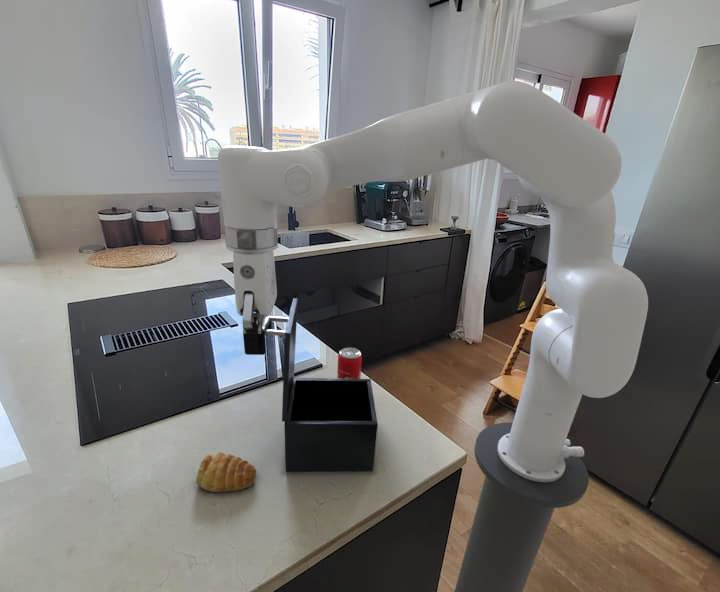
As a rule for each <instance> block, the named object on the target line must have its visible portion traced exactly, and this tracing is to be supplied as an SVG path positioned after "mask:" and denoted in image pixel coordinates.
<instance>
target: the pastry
mask: <svg viewBox="0 0 720 592" xmlns="http://www.w3.org/2000/svg"><path fill="white" fill-rule="evenodd" d="M256 475H257V469H256V468H255V466H254V465H253V464H251V463H250V462H249V461H247V460H244V459H242V458H241V457H240V456H235V455H233V454H231V453H228V454H225V453H224V452H218V453H216V454H207V455H205V456H204V458H203V459H202V460H201V462H200V465H199V468H198V471H197V474H196V478H195V479H196V480H195V483H196V485H197V486H198V487H200V488H202V489H203V490H205V491H207V492H213V493H223V492H224V493H227V492H237V491H241V490H244V489H246V488H250V487H251V486H252V485H253V484H254V482H255V480H256Z"/></svg>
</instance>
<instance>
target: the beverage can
mask: <svg viewBox="0 0 720 592" xmlns="http://www.w3.org/2000/svg"><path fill="white" fill-rule="evenodd" d="M362 360H363V355H362V352H361V351H360V350H359V349H358V348H355V347H344V348H342V349H340V350H339V353H338V354H337V375H336V379H361V377H362V376H361V374H362Z"/></svg>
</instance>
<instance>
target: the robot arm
mask: <svg viewBox="0 0 720 592" xmlns="http://www.w3.org/2000/svg"><path fill="white" fill-rule="evenodd" d="M485 160H493V161H495V162H497V163H498V164H499V165H501V166H503V167H505V169H507V170H509V171H510V172H511V173H513V174H514V175H516V176H517V179H518V181H519V183H520V185H521V186H522V187H523V189H525V190H526V191H527V192H528V193H530V194H532V195H533V196H536V197H538V198H540V200H541V201H542V202H543V203H544V204H543V205H544V206H545V208H546V210H547V213H548V217H549V224H550V225H549V226H550V227H549V228H550V232H549V245H548V246H549V247H548V257H547V267H546V277H545V291H546V294H547V296H548V297H549V299H550V300H551V301H552V303H554V304H555V306H556V307H558V308H557V309H553V310H550V311H549V312H547V313H545V314H544V315H543V316H541V318H539V320H538V321H537V322H536V324H535V326H534V328H533V331H532V336H531V340H530V349H529V350H530V351H529V361H528V362H529V363H528V367H527V370H526V371H527V372H526V375H525V378H524V382H523V386H522V389H521V392H520V396H519V399H518V404H517V407H516V409H515V414H514V417H513V421H512V423H513V424H512V428H511V431H510V433H509V434H506V435H504V436H503V437H502V438H501V439H500V440H499V443H498V447H497V451H498V455H499V457H500V459H501V460H502V462H503V463H504V464H505V465H506V466H507V467H508V468H509V469H510V470H512V471H513V472H515V473H516V474H518V475H520V476H522V477H524V478H526V479H529V480H532V481H537V482H552V481H555V480H557V479H559V478H560V477H561V476H562V475H563V473H564V471H565V461H564V458H569V456H573V457H580V458H582V457H584V456H585V450H584V448H583V447H582V446H571V443H572V442H571V440H570V439H569V438H568V434H569V432H570V429H571V426H572V425H573V422H574V419H575V415H576V413H577V410H578V408H579V405H580V404H581V403H580V402H581V400H582V398H583V397H582V396H585V397H588V398H593V399H603V398H608V397H610V396H613V395H615V394H617V393H618V392H619V391H621V390H622V389H623V388H624V387H625V386H626V385H627V384H628V382H629V380H630V378H631V376H632V375H633V373H634V370H635V368H636V365H637V360H638V355H639V353H640V347H641V343H642V340H643V339H642V338H643V335H644V330H645V326H646V322H647V316H648V311H649V310H648V309H649V297H648V292H647V289H646V287H645V284H644V283H643V281H642V280H641V278H640V277H638V275H637V274H636V273H634V272H632V271H631V270H629V269H627V268H626V267H623V266H622V265H620V264H617V263H616V262H615V261H614V259H613V249H614V241H615V230H616V217H617V214H616V213H617V211H616V203H615V199H614V196H613V193H612V190H613V189H614V187H615V186H616V184H617V183H618V181H619V178H620V176H621V171H622V156H621V152H620V150H619V148H618V146H617V144H616V143H615V142H614V140H613V138H610V136H609V135H608V134H606V133H605V132H603V131H602V130H600V128H598V127H596V126H594V125H593V124H591V123H590V122H588V121H587V120H585V119H584V118H582V117H581V116H579V115H578V114H576V113H575V112H573V111H572V110H571V109H569V108H568V107H566V106H565V105H563V104H562V103H560V102H559V101H558V100H556V99H554V98H553V97H552V96H550V95H548V94H547V93H545V92H544V91H542V90H541V89H539V88H537V87H535V86H534V85H532V84H529V83H526V82H524V81H520V80H506V81H503V82H500V83H497V84H494V85H491V86H489V87H485V88H482V89H478V90H474V91H471V92H468V93H465V94H461V95H458V96H454V97H450V98H448V99H444V100H441V101H438V102H434V103H431V104H427V105H424V106H420V107H416V108H413V109H409V110H406V111H402V112H399V113H396V114H393V115H390V116H388V117H384V118H382V119H380V120H378V121H376V122H374V123H372V124H370V125H368V126H365V127H363V128H360V129H358V130H355V131H352V132H349V133H344V134H342V135H339V136H336V137H332V138H328V139H325V140H321V141H319V142H314V143H311V144H308V145H304V146H298V147H294V148H288V149H280V150H279V149H277V150H269V149H268V148H265V147H262V146H248V145H227V146H224V147H222V148H221V149H219V151H218V153H217V165H218V166H217V167H218V177H219V178H218V179H219V187H220V188H219V189H220V197H221V206H222V216H223V228H224V238H225V248H226V249H227V250H228V251H229V252H232V255H233V256H232V261H233V263H232V264H233V265H232V267H233V284H234V286H233V287H234V298H235V306H236V313H237V314H238V315H239V316H240V317H242V322H241V323H242V337H243V349H244V355H246V356H247V355H248V356H264V355H265V354H266V352H267V349H266V335H265V332H264V331H262V316H263V315H265V316H269V315H270V316H272V312H273V309H274V307H275V303H276V301H277V297H278V288H277V276H276V275H277V274H276V261H275V255H274V251H275V250H276V249H278V248H279V238H278V237H279V236H278V214H277V213H278V212H277V205H281V206H286V207H291V208H297V209H298V208H299V209H303V208H310V207H313V206H315V205H316V204H318V203H319V202H320V201H321V200H322V199H323V198H324V197H325V195H326V194H329V193H332V192H335V191H339V190H342V189H346V188H350V187H353V186H358V185H363V184H369V183H376V182H387V183H388V182H389V183H400V182H406V181H411V180H414V179H418V178H421V177H426V176H430V175H433V174H436V173H439V172H443V171H447V170H450V169H454V168H457V167H461V166H466V165H469V164H472V163H473V164H474V163H477V162H480V161H485ZM257 319H258V325H257V323H256V321H257ZM267 329H270V330H273V328H272V321H270V322H269V325H268V328H267ZM567 446H569V447H567Z"/></svg>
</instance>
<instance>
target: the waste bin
mask: <svg viewBox="0 0 720 592" xmlns="http://www.w3.org/2000/svg"><path fill="white" fill-rule="evenodd" d="M373 392H374V391H373V386H372V379H371V378H360V379H337V378H331V377H330V378H325V377H324V378H323V377H322V378H321V377H309V378H308V377H294V379H293V385H292V392H291V398H290V404H289V411H288V417H287V422H283V423H284V425H283V426H284V456H285V458H284V459H285V462H284V463H285V472H287V473H304V472H305V473H307V472H308V473H312V472H313V473H317V472H319V473H321V472H322V473H326V472H332V473H333V472H373V471H374V466H375V465H374V464H375V455H376V446H377V445H376V444H377V435H378V426H379V425H378V423H379V422H378V418H377V412H376V405H375V399H374V398H375V397H374V393H373Z"/></svg>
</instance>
